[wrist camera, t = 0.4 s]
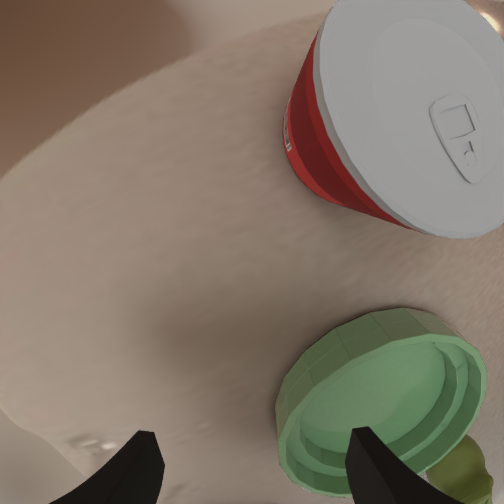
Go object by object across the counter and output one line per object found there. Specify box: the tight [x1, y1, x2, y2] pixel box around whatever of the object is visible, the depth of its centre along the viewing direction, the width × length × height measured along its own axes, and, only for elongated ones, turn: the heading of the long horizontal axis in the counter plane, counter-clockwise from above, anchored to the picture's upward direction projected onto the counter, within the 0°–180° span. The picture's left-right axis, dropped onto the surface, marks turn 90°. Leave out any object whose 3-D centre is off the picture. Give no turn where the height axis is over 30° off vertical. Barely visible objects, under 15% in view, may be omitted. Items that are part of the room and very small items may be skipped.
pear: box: [426, 434, 494, 504], centre depth 17 cm, size 6×5×10 cm
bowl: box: [275, 308, 487, 497], centre depth 19 cm, size 15×15×4 cm
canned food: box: [282, 0, 504, 239], centre depth 12 cm, size 8×8×11 cm
